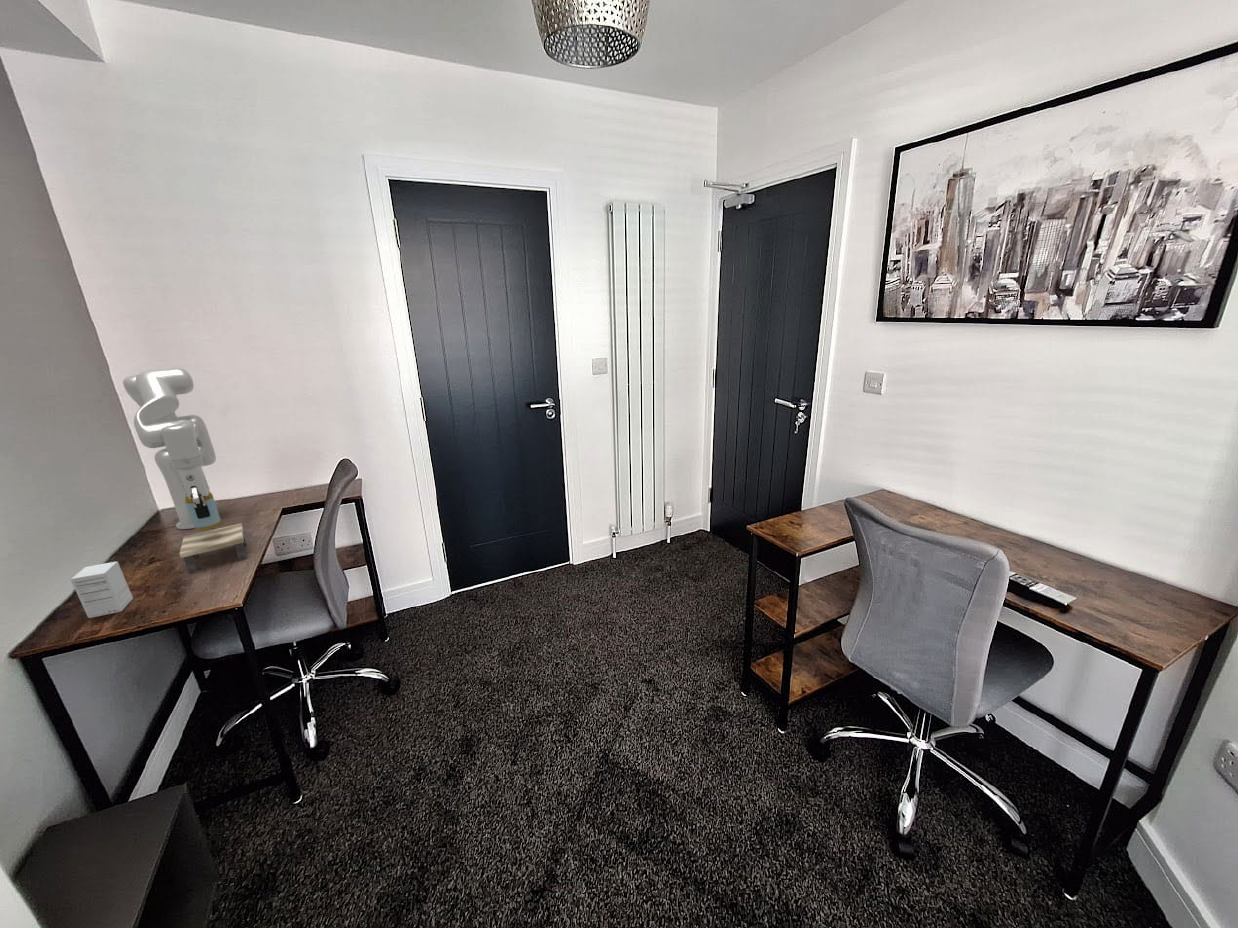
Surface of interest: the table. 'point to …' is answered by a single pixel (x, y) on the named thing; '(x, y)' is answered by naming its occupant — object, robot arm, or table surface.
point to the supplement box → (102, 589)
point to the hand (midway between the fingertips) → (204, 513)
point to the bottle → (208, 521)
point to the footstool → (212, 543)
